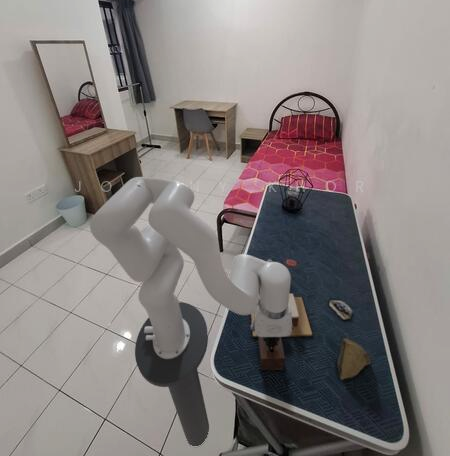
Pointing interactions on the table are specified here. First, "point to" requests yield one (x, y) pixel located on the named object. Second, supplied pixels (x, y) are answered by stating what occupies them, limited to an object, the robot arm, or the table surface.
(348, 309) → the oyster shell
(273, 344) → the knife
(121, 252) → the robot arm
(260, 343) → the knife block
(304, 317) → the board
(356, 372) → the rock
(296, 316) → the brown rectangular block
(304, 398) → the table surface
